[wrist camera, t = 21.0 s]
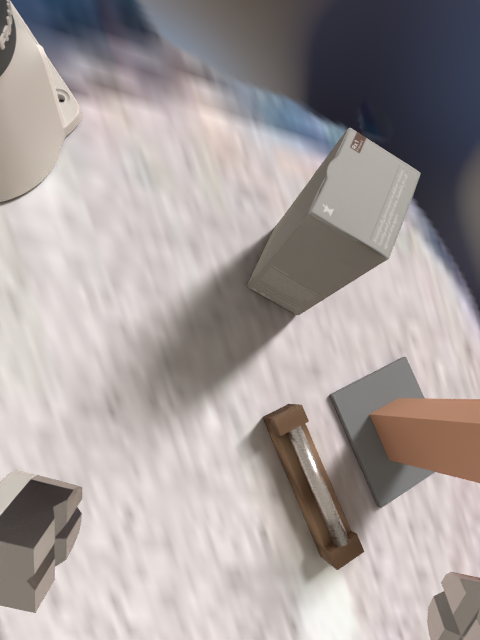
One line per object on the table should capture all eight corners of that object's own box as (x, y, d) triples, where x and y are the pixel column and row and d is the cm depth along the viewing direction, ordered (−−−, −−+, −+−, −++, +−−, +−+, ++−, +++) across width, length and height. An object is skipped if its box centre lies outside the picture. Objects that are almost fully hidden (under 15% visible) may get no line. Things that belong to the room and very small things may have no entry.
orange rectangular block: (369, 414, 40) (490, 424, 27) (398, 398, 41) (527, 400, 28) (389, 460, 39) (521, 493, 26) (418, 442, 41) (557, 465, 28)
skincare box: (296, 317, 40) (397, 272, 25) (237, 283, 39) (305, 215, 24) (326, 252, 43) (433, 175, 28) (271, 217, 41) (352, 118, 26)
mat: (329, 394, 40) (332, 394, 39) (402, 357, 43) (405, 357, 42) (377, 506, 39) (381, 507, 38) (447, 459, 42) (452, 460, 42)
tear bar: (262, 417, 37) (275, 419, 34) (288, 404, 38) (303, 404, 35) (321, 556, 36) (339, 572, 33) (346, 539, 37) (366, 553, 34)
